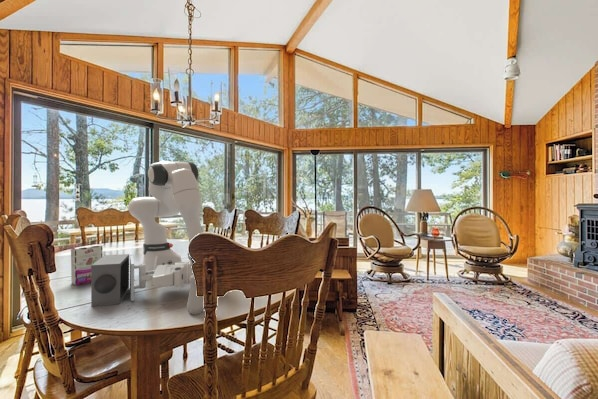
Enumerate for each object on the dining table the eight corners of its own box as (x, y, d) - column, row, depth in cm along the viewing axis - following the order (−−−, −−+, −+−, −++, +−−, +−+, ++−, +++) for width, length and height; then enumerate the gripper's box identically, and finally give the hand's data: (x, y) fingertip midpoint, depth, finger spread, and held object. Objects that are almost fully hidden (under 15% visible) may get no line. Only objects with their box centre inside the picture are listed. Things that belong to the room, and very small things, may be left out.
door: (129, 287, 128) (129, 255, 127) (143, 285, 130) (143, 253, 130) (130, 301, 112) (131, 264, 111) (146, 298, 114) (146, 262, 114)
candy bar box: (97, 278, 142) (98, 244, 142) (103, 279, 140) (103, 245, 139) (70, 283, 133) (70, 247, 132) (75, 285, 130) (75, 248, 130)
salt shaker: (189, 309, 106) (189, 273, 106) (205, 308, 107) (206, 273, 106) (184, 315, 100) (184, 277, 100) (201, 315, 101) (202, 277, 101)
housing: (104, 290, 124) (104, 255, 124) (129, 288, 127) (129, 254, 127) (89, 308, 106) (90, 266, 105) (118, 305, 109) (119, 264, 108)
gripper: (180, 260, 131) (145, 262, 126) (178, 271, 112) (137, 274, 107) (180, 274, 131) (145, 276, 126) (178, 288, 112) (137, 292, 107)
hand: (141, 276), depth 117 cm, fingers open, 3 cm apart
